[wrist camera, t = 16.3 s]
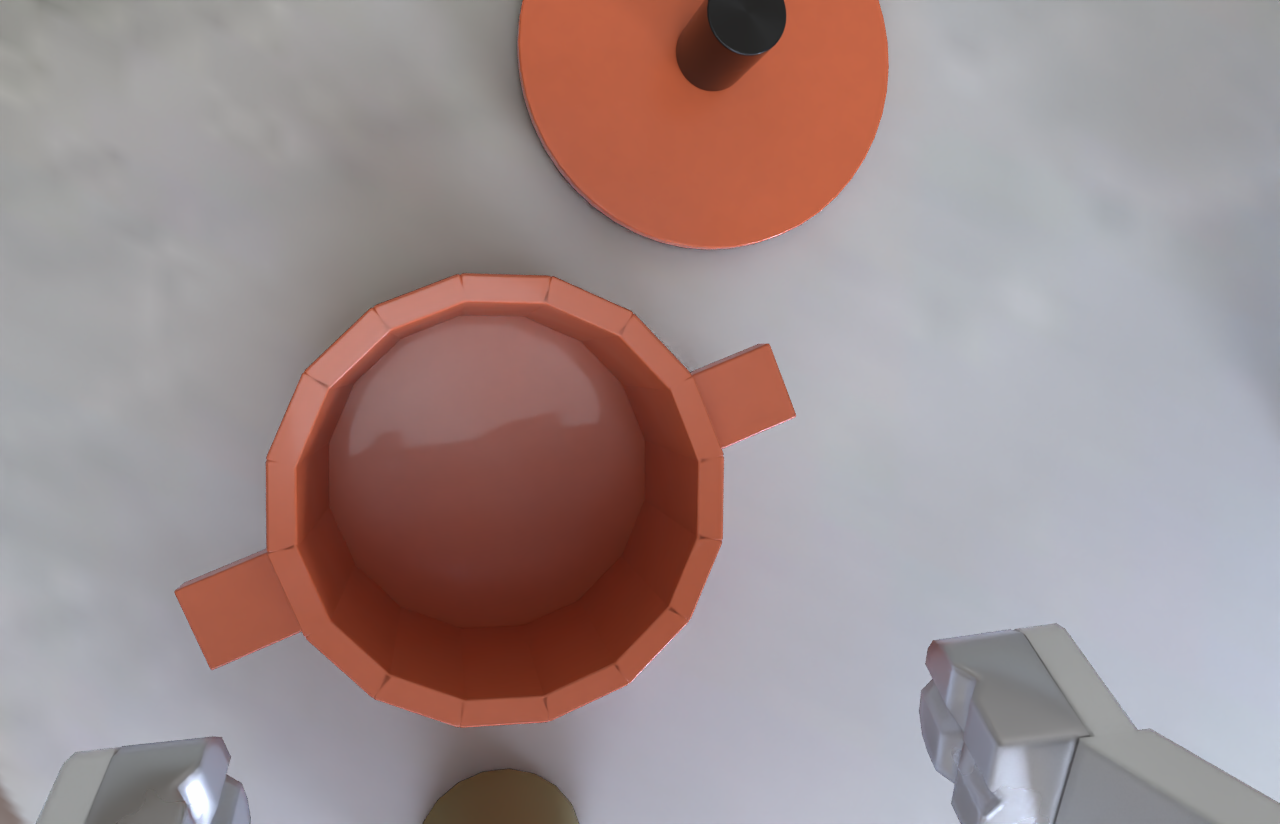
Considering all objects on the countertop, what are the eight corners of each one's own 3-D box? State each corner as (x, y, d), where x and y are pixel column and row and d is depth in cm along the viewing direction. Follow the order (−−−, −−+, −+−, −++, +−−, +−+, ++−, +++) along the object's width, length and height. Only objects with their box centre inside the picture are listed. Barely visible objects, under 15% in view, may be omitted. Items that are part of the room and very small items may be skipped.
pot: (167, 403, 32) (80, 417, 25) (655, 217, 35) (715, 175, 28) (320, 736, 34) (283, 847, 26) (775, 530, 37) (864, 574, 29)
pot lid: (454, -60, 34) (456, -139, 28) (799, -174, 36) (861, -267, 31) (603, 307, 35) (631, 297, 30) (924, 175, 38) (1003, 145, 32)
